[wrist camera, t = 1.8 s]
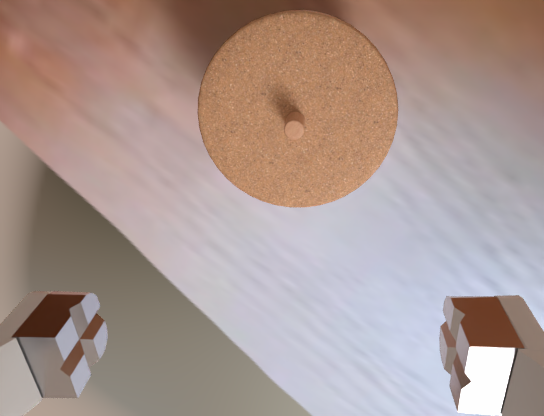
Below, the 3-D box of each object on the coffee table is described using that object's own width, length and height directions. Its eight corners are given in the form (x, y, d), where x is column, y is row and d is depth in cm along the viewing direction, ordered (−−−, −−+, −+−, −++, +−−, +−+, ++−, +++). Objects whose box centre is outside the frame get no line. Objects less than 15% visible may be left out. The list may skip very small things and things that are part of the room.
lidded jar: (194, 97, 32) (150, 142, 24) (289, -39, 28) (276, -42, 19) (310, 186, 34) (307, 255, 26) (415, 75, 30) (451, 116, 22)
